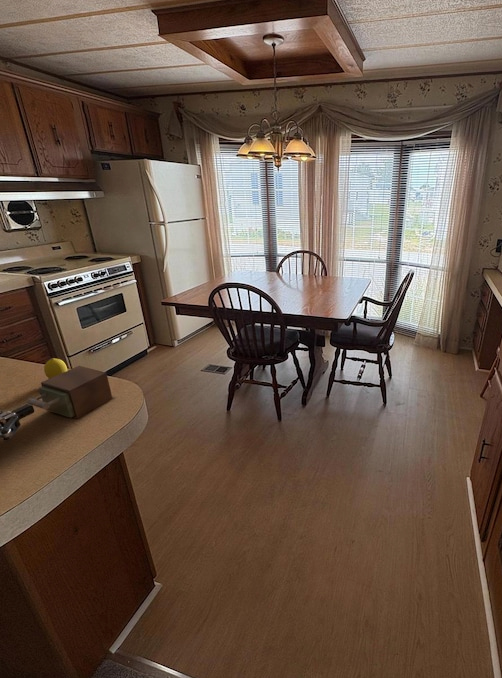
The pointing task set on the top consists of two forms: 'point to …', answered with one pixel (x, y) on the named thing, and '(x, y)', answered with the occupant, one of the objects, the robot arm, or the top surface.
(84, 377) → the cabinet
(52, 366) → the lemon
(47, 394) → the drawer
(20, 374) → the top surface
